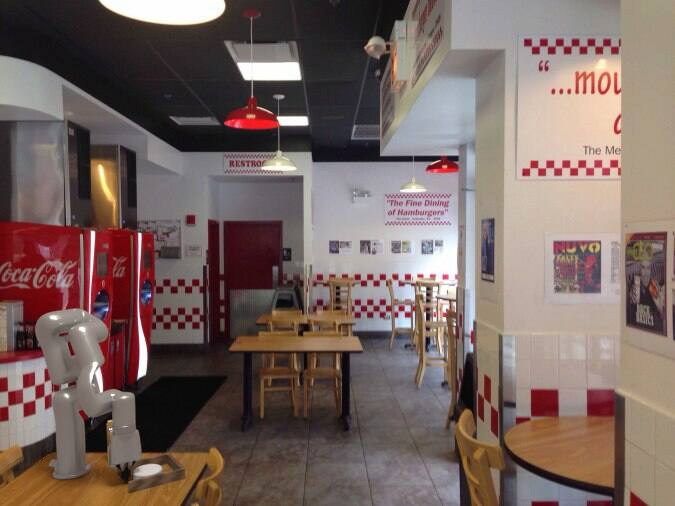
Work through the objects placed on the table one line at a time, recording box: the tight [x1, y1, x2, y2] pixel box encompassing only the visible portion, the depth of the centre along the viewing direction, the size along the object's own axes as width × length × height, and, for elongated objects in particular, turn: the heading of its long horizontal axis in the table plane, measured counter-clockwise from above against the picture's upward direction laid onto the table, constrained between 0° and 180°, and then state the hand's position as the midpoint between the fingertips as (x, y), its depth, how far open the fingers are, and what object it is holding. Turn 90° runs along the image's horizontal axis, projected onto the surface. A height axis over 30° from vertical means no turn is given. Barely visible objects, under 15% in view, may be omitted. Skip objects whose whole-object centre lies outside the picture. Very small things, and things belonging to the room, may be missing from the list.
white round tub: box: [132, 464, 163, 480], centre depth 199 cm, size 10×10×4 cm
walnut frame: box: [116, 452, 186, 494], centre depth 200 cm, size 19×18×4 cm
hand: (125, 480), depth 195 cm, fingers closed
